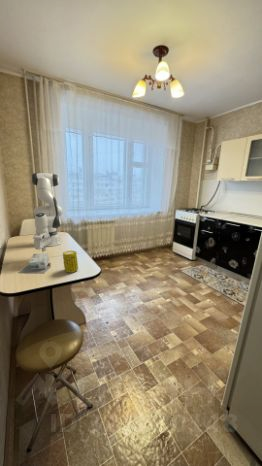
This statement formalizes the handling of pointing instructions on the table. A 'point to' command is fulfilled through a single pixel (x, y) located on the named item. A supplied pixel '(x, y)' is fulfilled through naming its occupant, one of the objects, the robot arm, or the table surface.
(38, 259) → the light bulb box
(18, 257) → the table surface
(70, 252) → the food
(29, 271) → the mat
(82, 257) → the table surface
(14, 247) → the table surface
